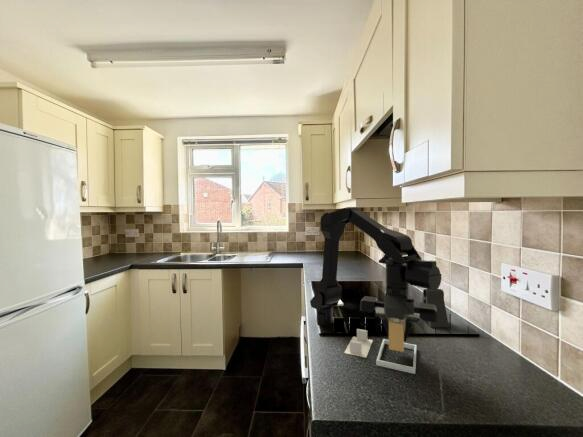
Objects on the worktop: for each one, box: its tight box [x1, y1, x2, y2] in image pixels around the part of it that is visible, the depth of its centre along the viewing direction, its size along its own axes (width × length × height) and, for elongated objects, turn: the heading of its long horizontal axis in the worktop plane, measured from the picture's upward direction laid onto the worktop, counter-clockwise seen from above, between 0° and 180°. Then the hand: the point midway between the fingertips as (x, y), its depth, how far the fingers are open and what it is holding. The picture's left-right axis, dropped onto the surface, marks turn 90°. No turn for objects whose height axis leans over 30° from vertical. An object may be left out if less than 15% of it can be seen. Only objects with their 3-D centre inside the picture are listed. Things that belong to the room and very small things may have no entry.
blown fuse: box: [388, 318, 406, 353], centre depth 72 cm, size 7×4×8 cm, turn 154°
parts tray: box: [375, 338, 417, 375], centre depth 73 cm, size 13×9×2 cm
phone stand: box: [419, 288, 450, 329], centre depth 97 cm, size 9×6×12 cm, turn 178°
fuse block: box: [343, 328, 374, 359], centre depth 78 cm, size 11×6×4 cm, turn 154°
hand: (397, 339), depth 73 cm, fingers closed on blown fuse, 3 cm apart
